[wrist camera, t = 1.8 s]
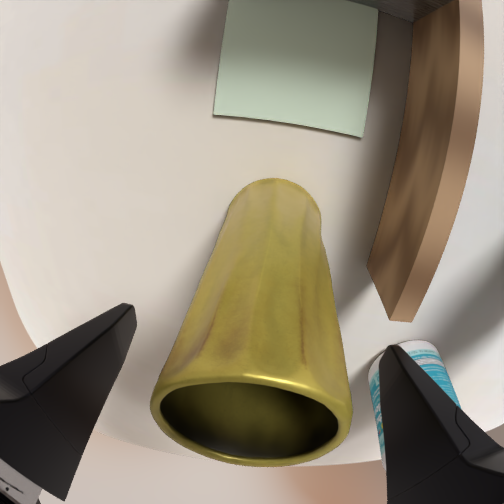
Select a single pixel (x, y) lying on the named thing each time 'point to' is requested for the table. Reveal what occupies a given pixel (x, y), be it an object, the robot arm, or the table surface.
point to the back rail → (430, 155)
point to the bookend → (405, 7)
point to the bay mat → (298, 62)
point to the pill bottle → (428, 361)
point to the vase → (260, 341)
